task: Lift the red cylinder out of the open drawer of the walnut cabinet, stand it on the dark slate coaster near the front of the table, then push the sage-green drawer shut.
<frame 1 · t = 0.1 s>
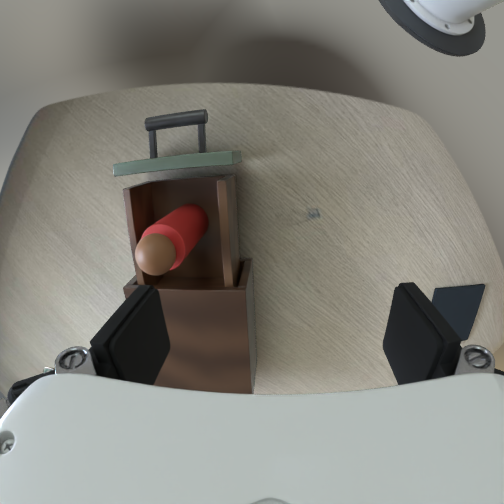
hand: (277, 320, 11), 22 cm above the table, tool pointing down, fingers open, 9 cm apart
drawer: (183, 206, 28), point 4 cm above the table, slide at 11.0 cm, touching red cylinder
coaster: (452, 315, 34), on the table
red cylinder: (190, 221, 30), point 2 cm above the table, touching drawer
cabinet: (206, 314, 37), on the table
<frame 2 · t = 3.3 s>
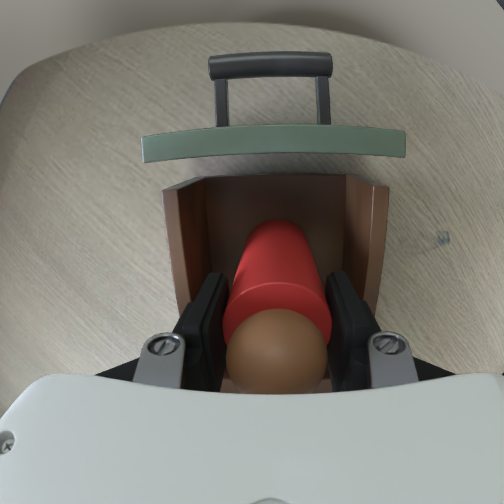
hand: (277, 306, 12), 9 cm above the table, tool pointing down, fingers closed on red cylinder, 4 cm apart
drawer: (276, 227, 15), point 4 cm above the table, slide at 11.0 cm, touching red cylinder
red cylinder: (277, 250, 18), point 2 cm above the table, touching drawer, gripper
cabinet: (276, 376, 24), on the table
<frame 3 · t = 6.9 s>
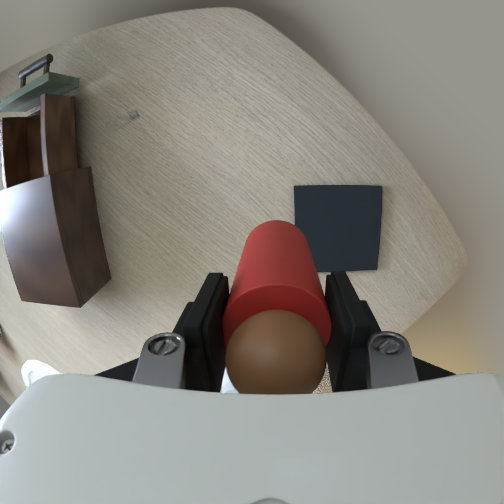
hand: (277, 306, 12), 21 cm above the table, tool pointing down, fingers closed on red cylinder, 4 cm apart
drawer: (35, 126, 25), point 4 cm above the table, slide at 11.0 cm
coaster: (338, 229, 31), on the table
dish: (61, 398, 50), on the table
red cylinder: (276, 251, 18), point 14 cm above the table, touching gripper
cabinet: (66, 228, 34), on the table
pill bottle: (244, 354, 39), on the table
when the fingers open (7 cm above the table, at t = 10.9 s): red cylinder stays where it is, resting on coaster.
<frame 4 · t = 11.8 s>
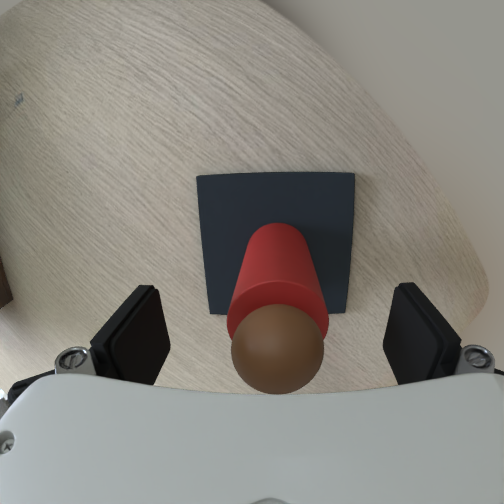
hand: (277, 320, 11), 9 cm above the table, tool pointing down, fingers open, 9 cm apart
coaster: (277, 247, 19), on the table
red cylinder: (277, 252, 19), point 1 cm above the table, touching coaster
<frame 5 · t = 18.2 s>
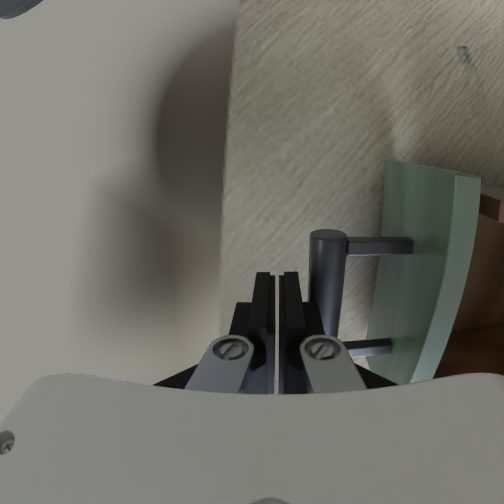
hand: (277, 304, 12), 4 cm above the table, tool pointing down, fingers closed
drawer: (479, 288, 11), point 4 cm above the table, slide at 10.7 cm, touching gripper
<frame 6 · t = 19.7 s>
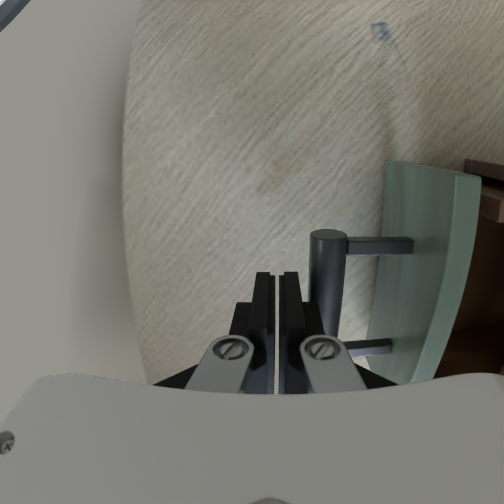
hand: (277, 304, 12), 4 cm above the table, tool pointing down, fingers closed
drawer: (479, 288, 11), point 4 cm above the table, slide at 4.7 cm, touching gripper
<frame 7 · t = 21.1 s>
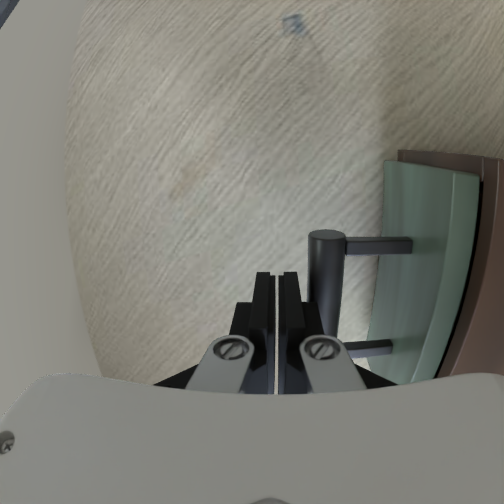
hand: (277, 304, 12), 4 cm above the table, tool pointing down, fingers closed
drawer: (480, 288, 11), point 4 cm above the table, slide at 0.0 cm, touching cabinet, gripper
cabinet: (485, 257, 14), on the table
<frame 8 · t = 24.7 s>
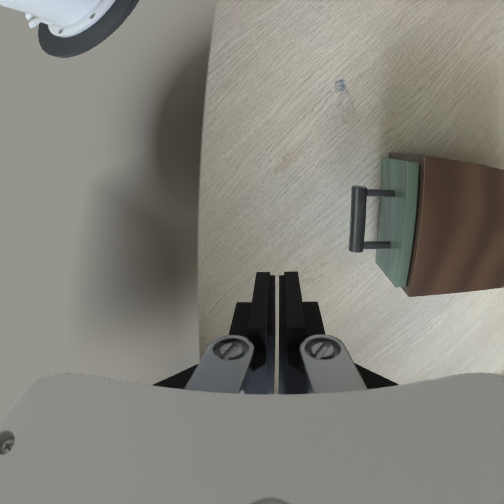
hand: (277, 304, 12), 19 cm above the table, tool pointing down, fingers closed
drawer: (433, 220, 24), point 4 cm above the table, slide at 0.0 cm
cabinet: (442, 212, 28), on the table
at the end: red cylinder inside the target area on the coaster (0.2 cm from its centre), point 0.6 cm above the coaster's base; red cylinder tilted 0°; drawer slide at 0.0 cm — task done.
